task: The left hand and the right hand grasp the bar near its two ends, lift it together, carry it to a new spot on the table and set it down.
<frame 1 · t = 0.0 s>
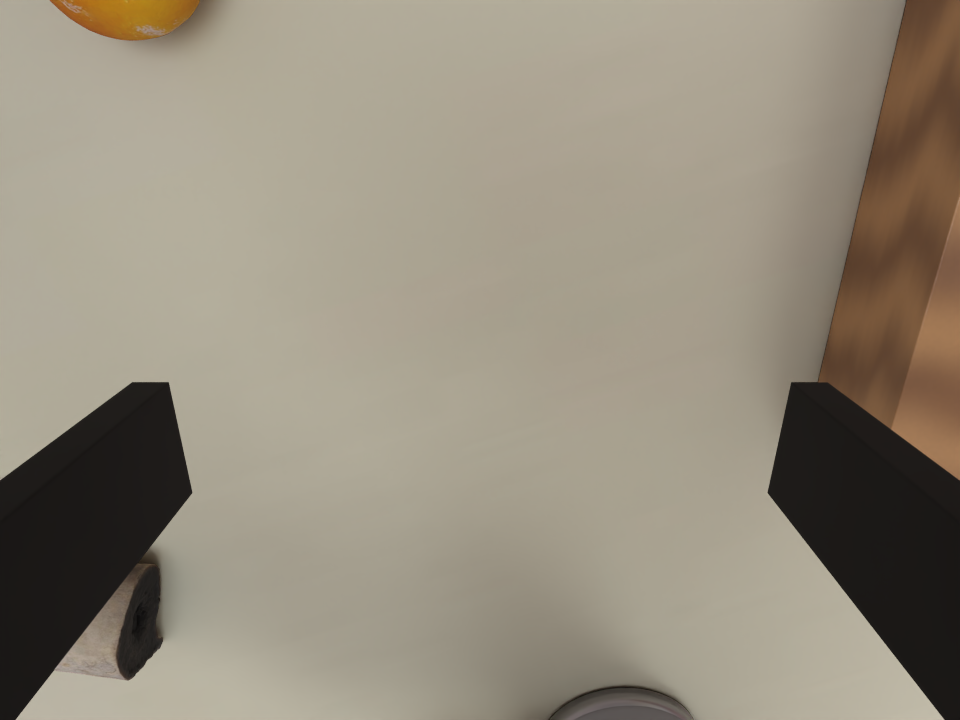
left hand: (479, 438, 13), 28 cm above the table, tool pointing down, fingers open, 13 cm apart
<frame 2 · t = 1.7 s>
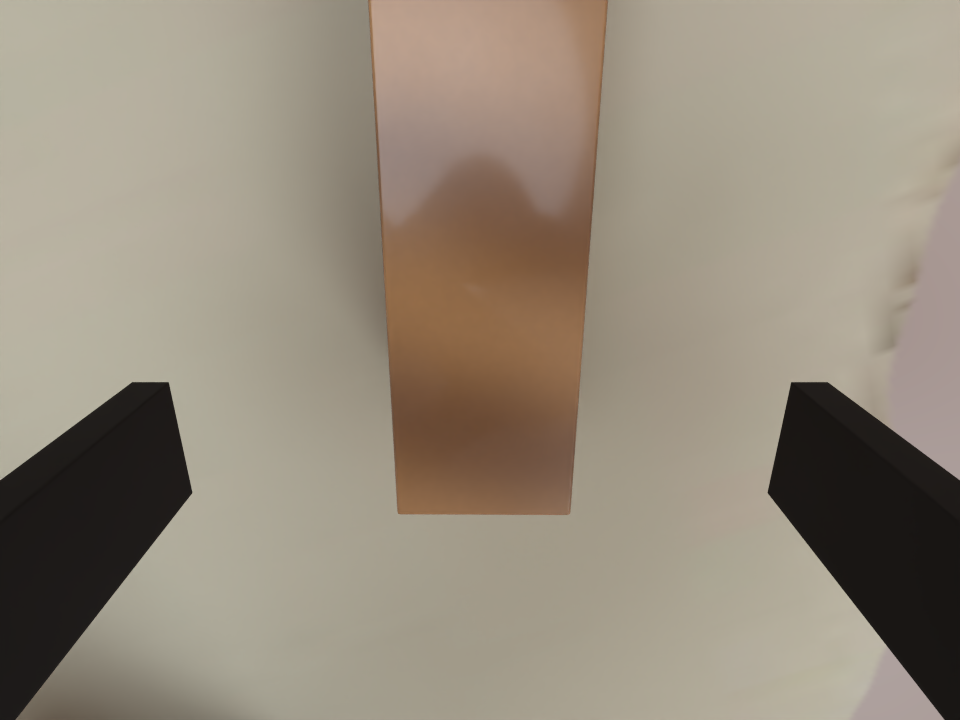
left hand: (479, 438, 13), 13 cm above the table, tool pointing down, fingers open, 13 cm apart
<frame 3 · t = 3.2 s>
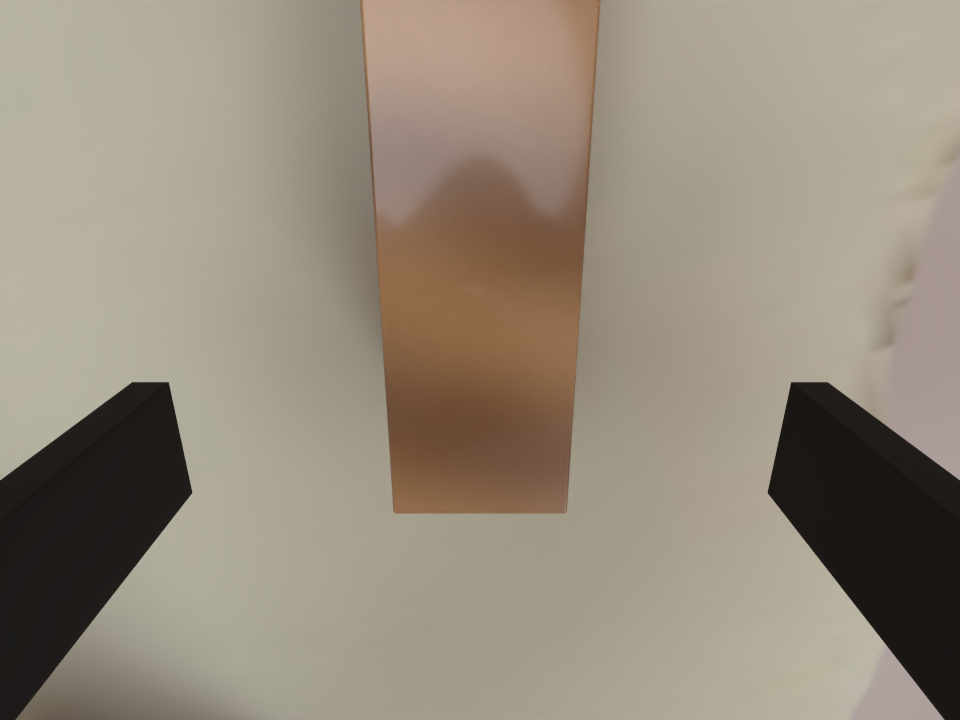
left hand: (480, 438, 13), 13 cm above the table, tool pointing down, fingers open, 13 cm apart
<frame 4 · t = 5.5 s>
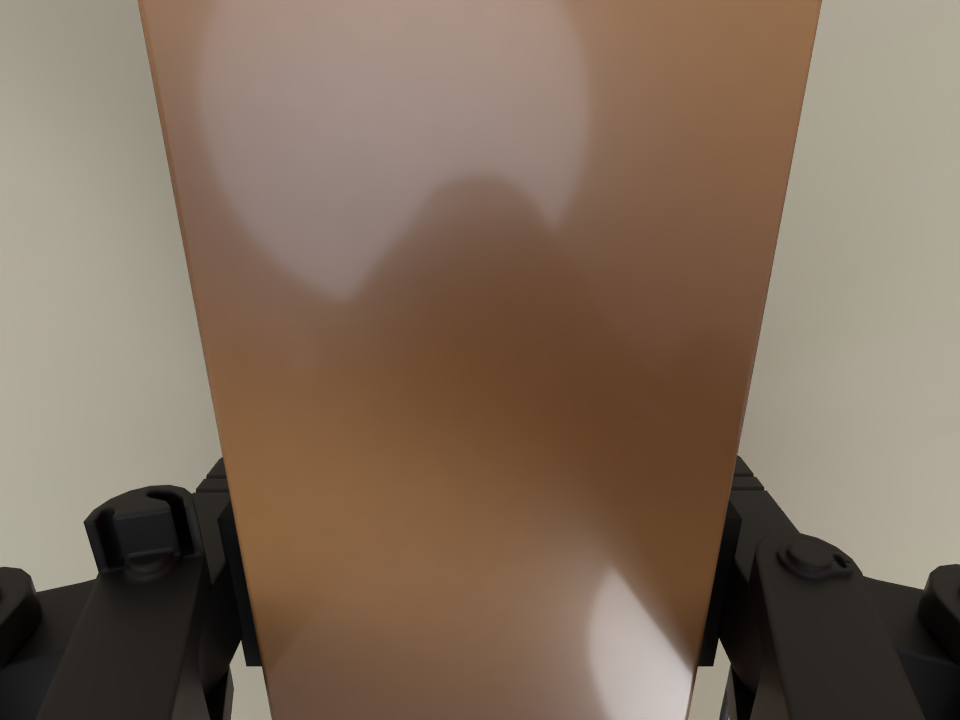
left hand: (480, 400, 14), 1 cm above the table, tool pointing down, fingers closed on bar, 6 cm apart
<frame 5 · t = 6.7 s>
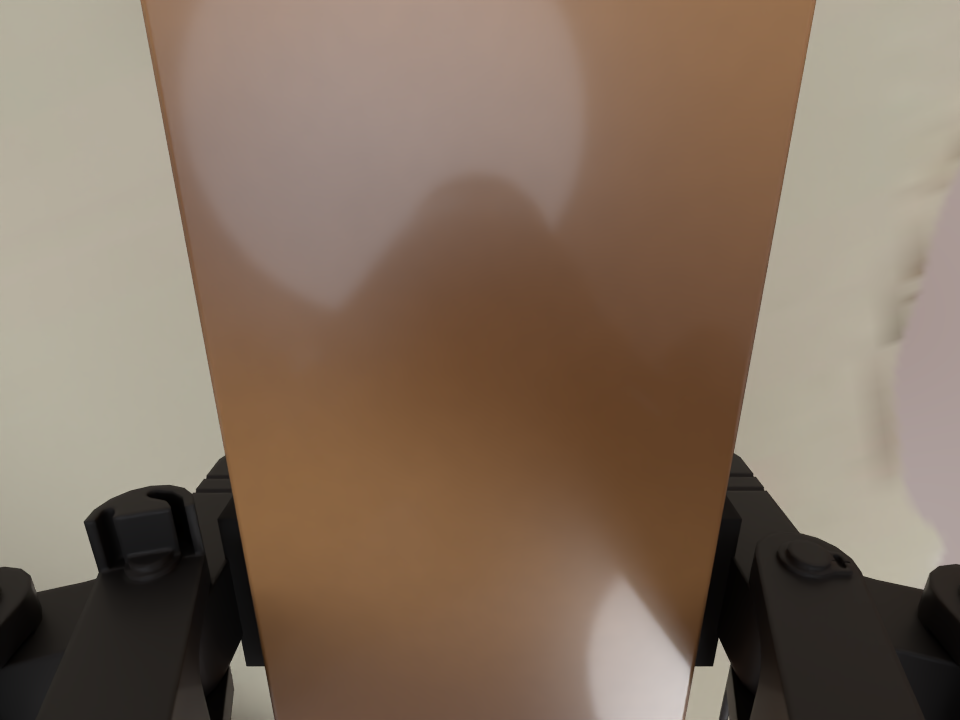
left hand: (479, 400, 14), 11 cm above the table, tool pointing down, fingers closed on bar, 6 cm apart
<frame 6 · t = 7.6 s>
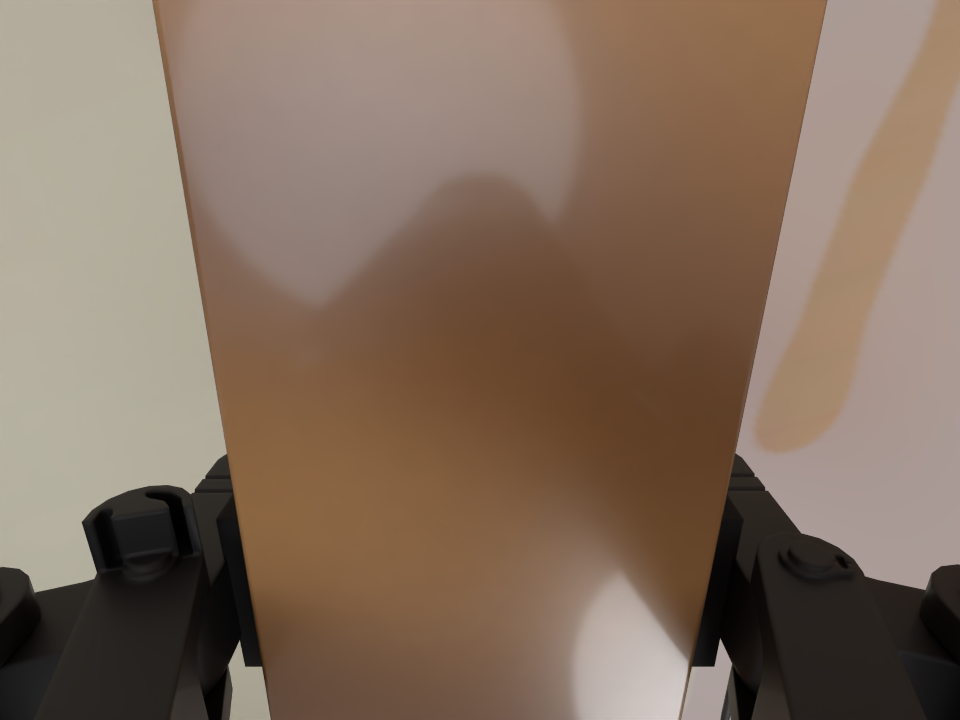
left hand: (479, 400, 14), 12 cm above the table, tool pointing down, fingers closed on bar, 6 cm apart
when the left hand's fingers open (2 cm above the table, at t = 9.9 s): bar drops 1 cm, on the table.
when the right hand's fingers open (4 cm above the table, at t = 10.1 s): bar stays where it is, on the table.
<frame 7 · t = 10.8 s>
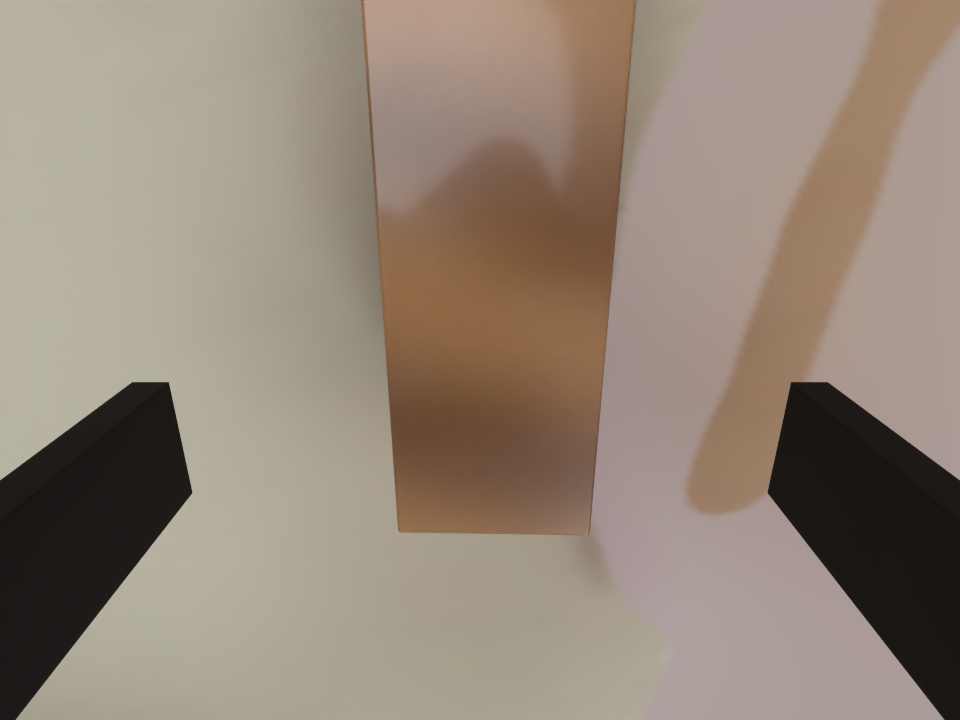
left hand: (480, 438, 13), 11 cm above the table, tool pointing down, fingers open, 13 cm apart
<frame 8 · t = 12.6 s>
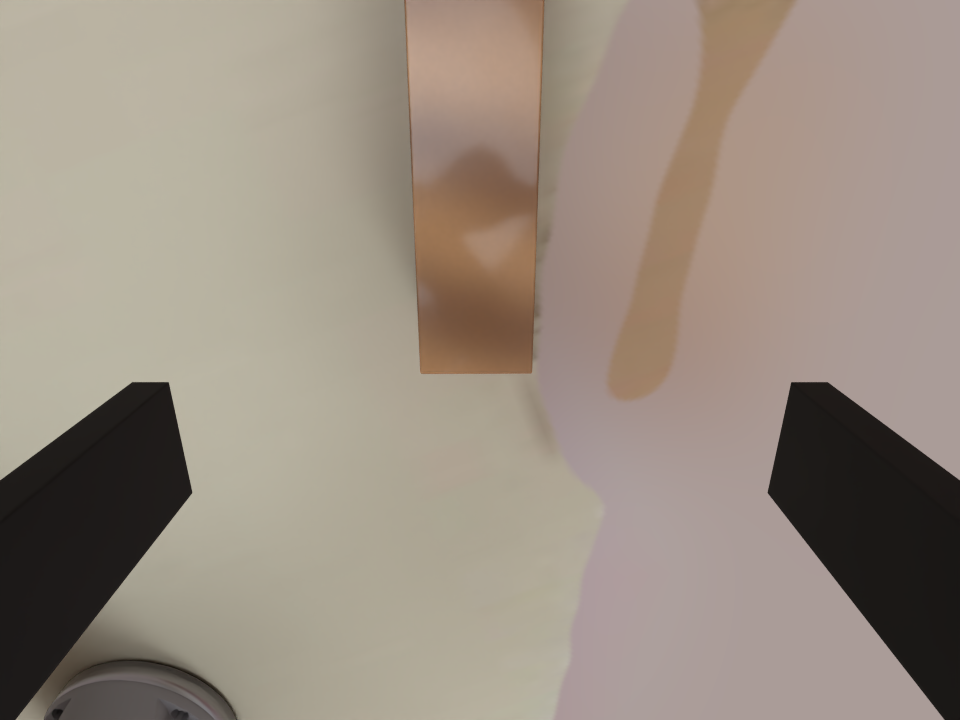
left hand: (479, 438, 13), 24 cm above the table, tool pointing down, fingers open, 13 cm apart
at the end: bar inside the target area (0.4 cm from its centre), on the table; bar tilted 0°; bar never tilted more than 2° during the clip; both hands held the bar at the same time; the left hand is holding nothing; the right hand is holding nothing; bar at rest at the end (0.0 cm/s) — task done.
